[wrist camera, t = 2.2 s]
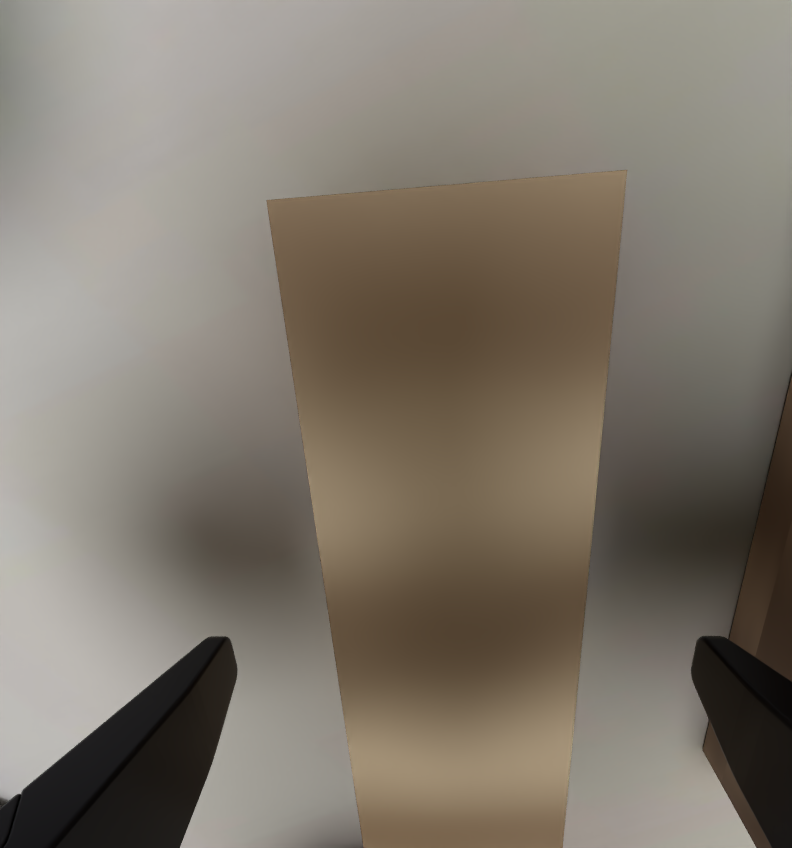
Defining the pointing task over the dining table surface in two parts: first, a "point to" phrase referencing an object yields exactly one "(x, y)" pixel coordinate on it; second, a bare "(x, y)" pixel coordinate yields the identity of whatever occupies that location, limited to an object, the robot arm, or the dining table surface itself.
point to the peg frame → (764, 601)
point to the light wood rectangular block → (454, 484)
